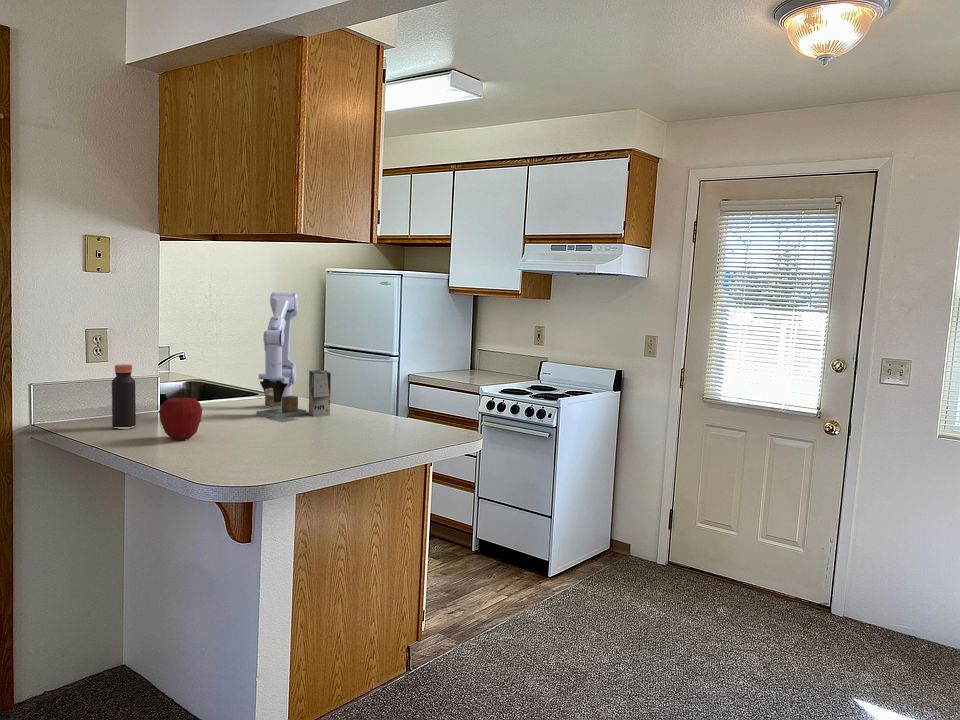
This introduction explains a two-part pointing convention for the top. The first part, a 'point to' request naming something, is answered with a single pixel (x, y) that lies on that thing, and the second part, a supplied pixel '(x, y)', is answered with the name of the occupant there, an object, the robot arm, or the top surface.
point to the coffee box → (319, 392)
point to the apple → (180, 417)
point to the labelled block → (270, 398)
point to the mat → (283, 419)
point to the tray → (279, 413)
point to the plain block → (289, 404)
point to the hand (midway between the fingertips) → (273, 401)
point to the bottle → (123, 397)
